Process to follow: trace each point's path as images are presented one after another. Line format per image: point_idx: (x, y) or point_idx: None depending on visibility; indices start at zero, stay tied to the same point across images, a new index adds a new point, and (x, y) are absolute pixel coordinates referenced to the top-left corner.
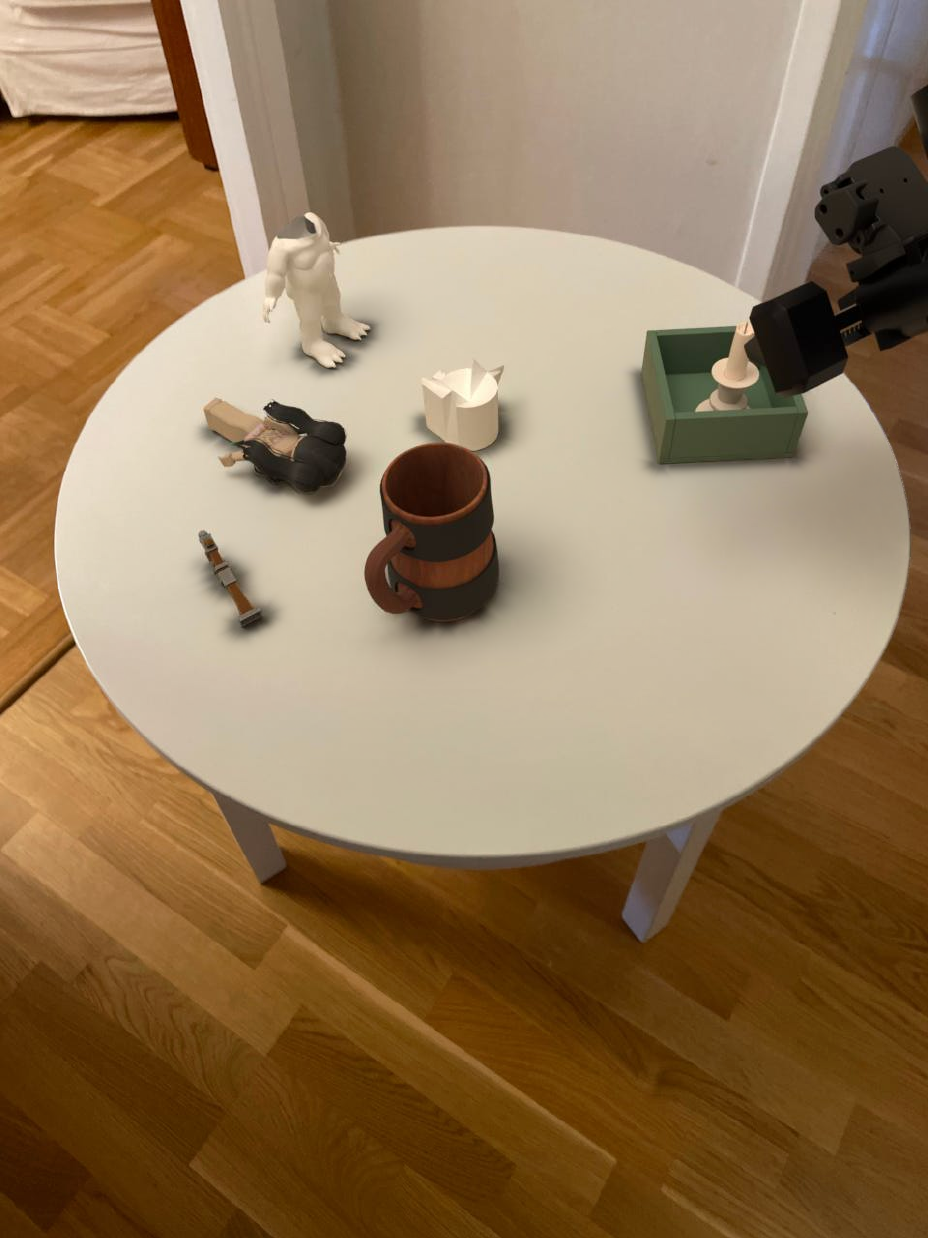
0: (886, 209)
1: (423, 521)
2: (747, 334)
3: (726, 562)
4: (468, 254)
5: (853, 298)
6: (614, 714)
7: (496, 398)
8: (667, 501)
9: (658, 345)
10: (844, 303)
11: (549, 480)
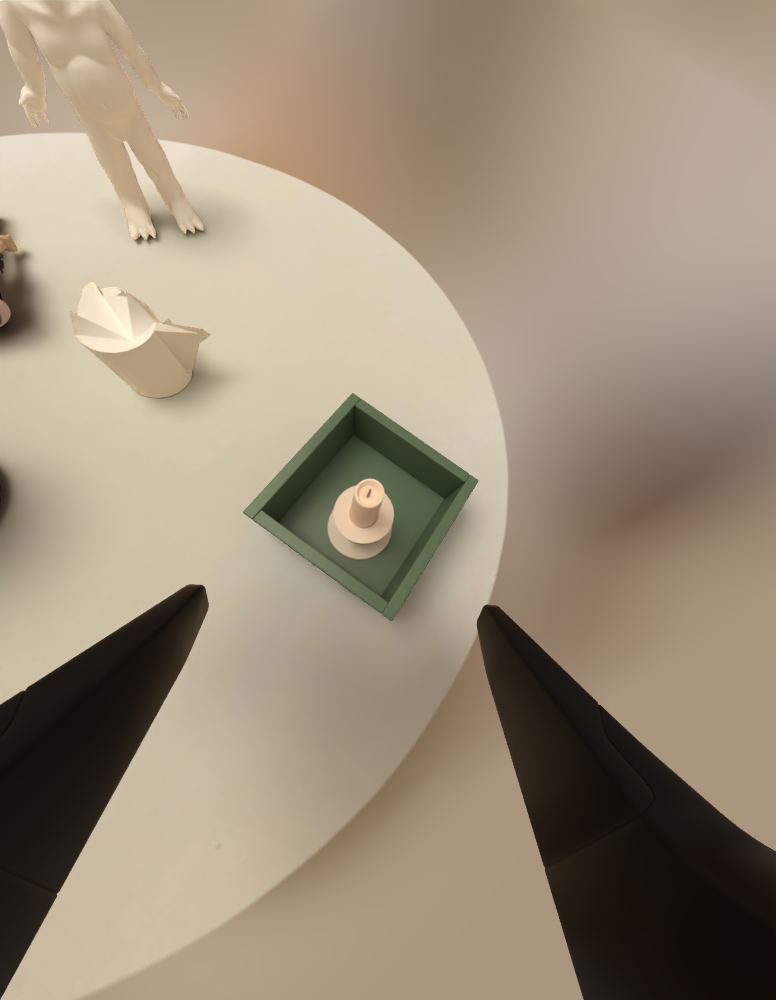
0: None
1: None
2: (362, 503)
3: (195, 689)
4: (350, 231)
5: (502, 654)
6: None
7: (140, 356)
8: (226, 573)
9: (342, 417)
10: (487, 628)
11: (160, 470)
